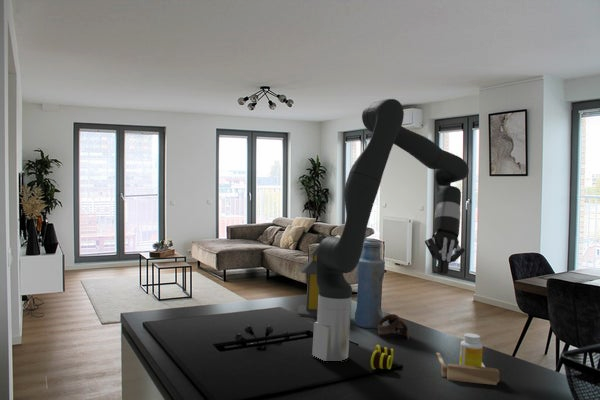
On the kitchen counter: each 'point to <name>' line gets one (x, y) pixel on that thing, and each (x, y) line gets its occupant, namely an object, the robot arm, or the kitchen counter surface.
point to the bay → (469, 373)
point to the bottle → (369, 286)
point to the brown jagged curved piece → (392, 325)
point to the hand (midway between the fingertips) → (442, 274)
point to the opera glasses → (382, 358)
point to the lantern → (311, 286)
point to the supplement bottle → (471, 350)
